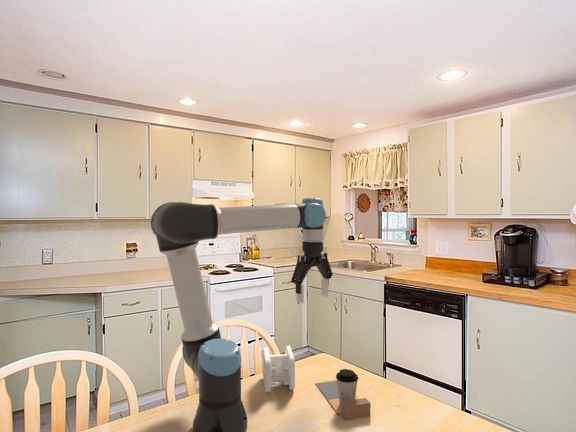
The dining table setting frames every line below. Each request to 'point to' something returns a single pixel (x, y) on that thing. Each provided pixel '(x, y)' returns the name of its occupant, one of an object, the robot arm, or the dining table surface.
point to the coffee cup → (346, 385)
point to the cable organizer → (278, 368)
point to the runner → (329, 389)
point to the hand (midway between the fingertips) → (312, 299)
